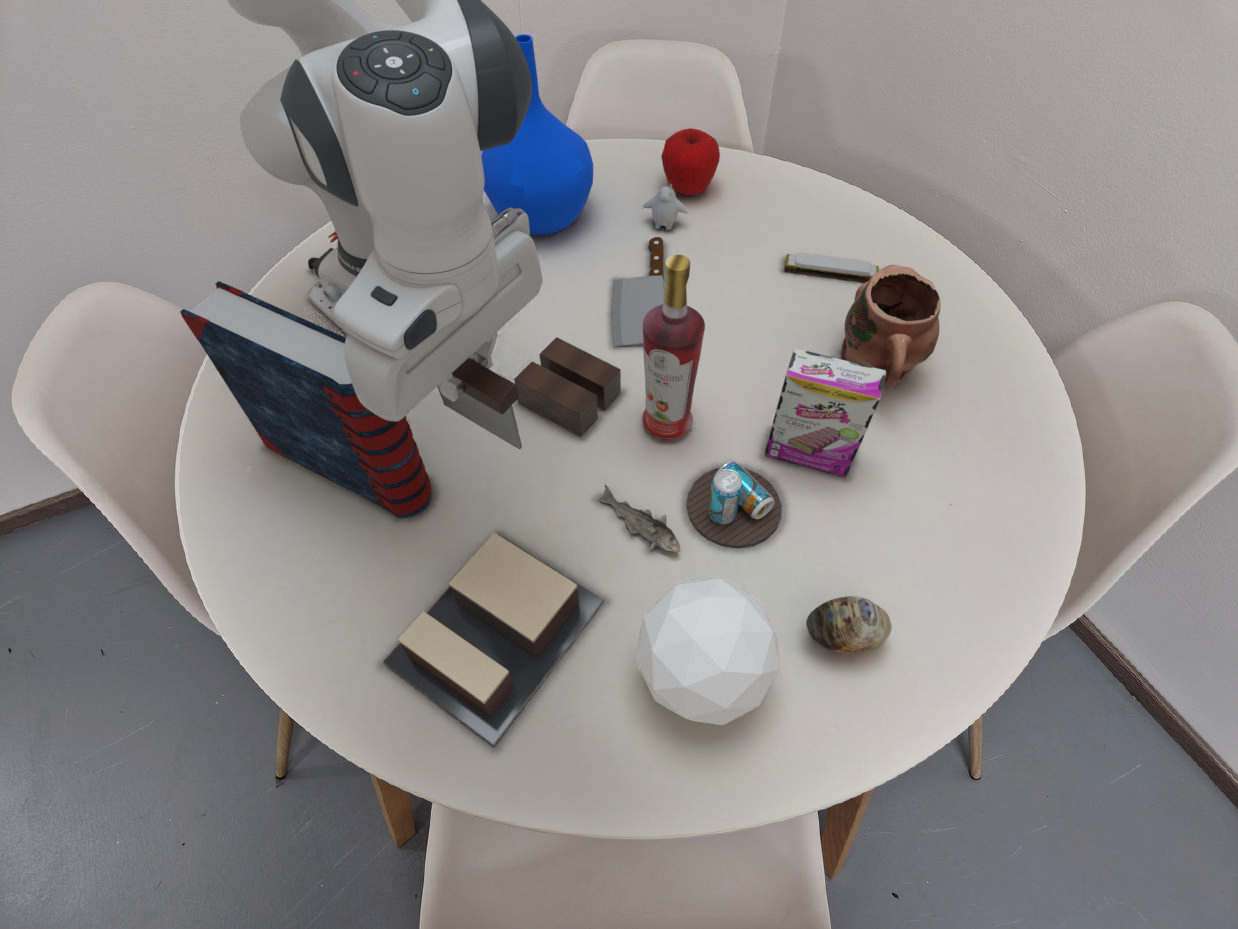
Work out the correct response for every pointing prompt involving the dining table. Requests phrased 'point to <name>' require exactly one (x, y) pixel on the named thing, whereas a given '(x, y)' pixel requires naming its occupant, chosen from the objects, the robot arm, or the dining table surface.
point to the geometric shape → (708, 651)
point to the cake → (504, 628)
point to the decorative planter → (892, 322)
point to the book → (308, 399)
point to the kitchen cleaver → (637, 299)
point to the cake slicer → (487, 401)
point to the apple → (690, 160)
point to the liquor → (671, 355)
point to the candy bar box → (824, 411)
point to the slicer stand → (568, 386)
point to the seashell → (849, 624)
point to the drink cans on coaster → (734, 506)
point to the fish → (644, 523)
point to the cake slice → (457, 663)
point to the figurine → (665, 207)
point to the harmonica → (830, 266)
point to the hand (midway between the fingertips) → (467, 381)
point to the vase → (540, 165)
